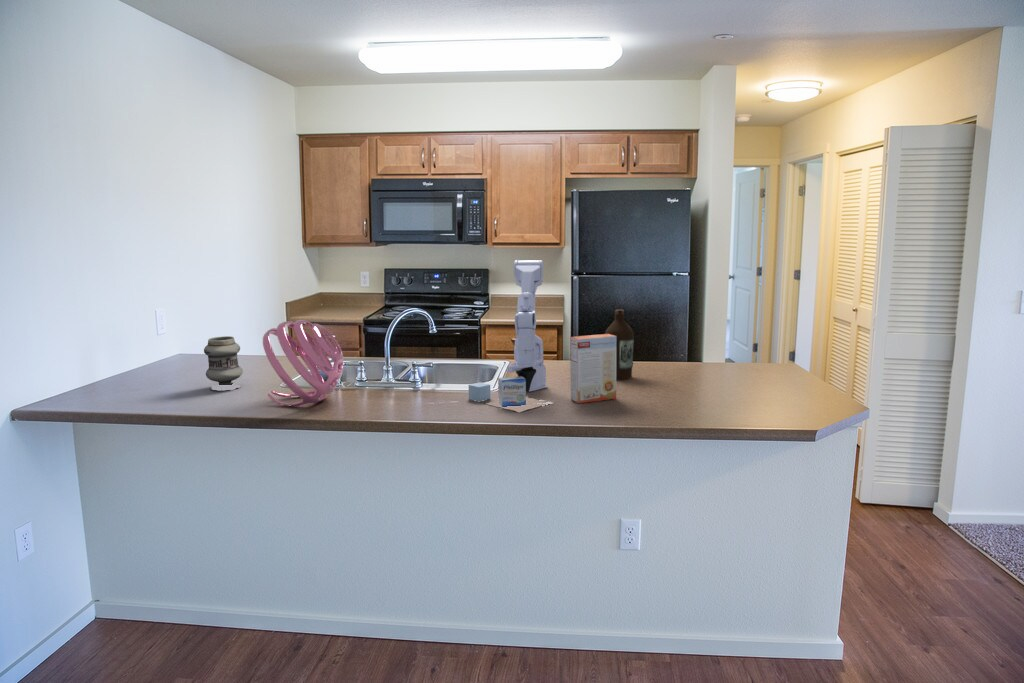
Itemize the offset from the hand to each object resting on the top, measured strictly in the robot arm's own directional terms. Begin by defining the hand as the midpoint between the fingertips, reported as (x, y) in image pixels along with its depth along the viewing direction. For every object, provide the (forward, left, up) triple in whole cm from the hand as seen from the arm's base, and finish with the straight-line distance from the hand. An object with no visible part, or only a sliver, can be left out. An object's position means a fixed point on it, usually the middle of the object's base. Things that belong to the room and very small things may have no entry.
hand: (526, 391), depth 228 cm
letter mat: (+3, 0, -3) cm, 5 cm away
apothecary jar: (+59, -90, -4) cm, 108 cm away
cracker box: (-17, +14, -4) cm, 22 cm away
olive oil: (-49, 0, -4) cm, 49 cm away
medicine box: (+6, 0, -3) cm, 7 cm away
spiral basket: (+49, -51, -4) cm, 71 cm away
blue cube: (+8, -13, -4) cm, 16 cm away
